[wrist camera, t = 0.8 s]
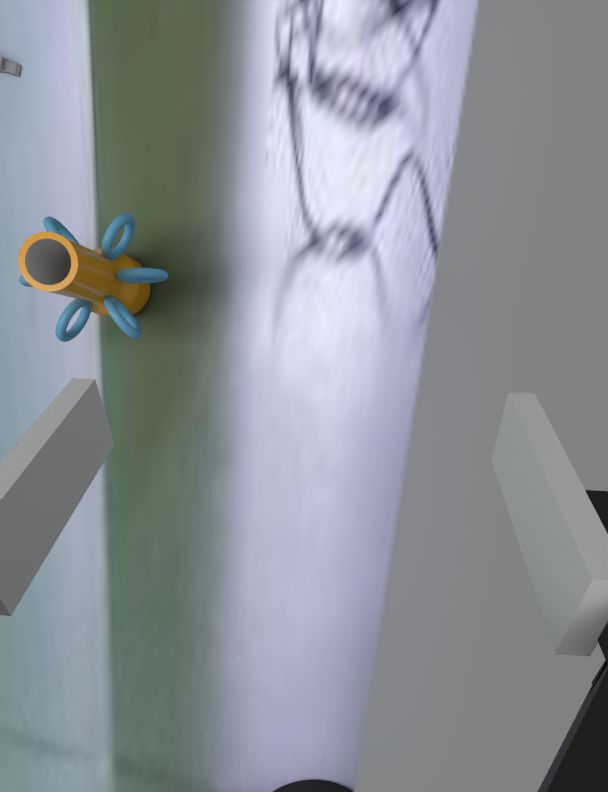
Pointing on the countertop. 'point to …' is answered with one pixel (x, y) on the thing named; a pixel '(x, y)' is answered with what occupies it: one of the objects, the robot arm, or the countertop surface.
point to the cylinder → (89, 275)
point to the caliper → (9, 67)
